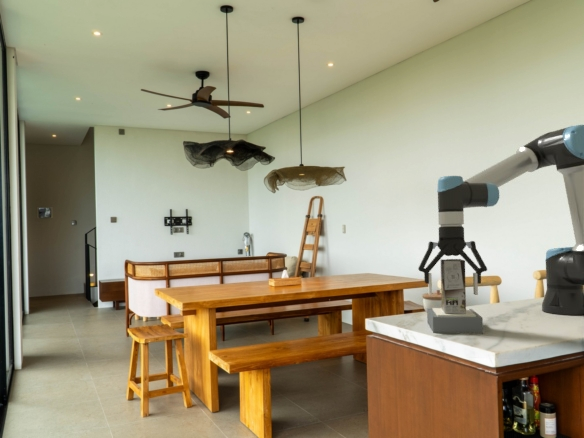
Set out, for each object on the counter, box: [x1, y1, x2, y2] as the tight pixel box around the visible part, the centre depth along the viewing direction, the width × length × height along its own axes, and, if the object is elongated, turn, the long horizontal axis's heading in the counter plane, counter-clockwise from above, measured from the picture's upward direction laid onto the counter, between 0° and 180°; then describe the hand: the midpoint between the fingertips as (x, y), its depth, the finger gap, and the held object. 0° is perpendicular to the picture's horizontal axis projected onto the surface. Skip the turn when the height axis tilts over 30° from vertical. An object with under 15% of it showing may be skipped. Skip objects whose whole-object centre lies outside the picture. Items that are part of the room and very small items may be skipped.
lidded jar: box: [422, 289, 442, 314], centre depth 172 cm, size 11×11×9 cm
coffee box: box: [439, 258, 467, 314], centre depth 153 cm, size 9×6×16 cm
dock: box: [426, 307, 484, 335], centre depth 152 cm, size 14×16×5 cm
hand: (452, 294), depth 153 cm, fingers open, 13 cm apart
